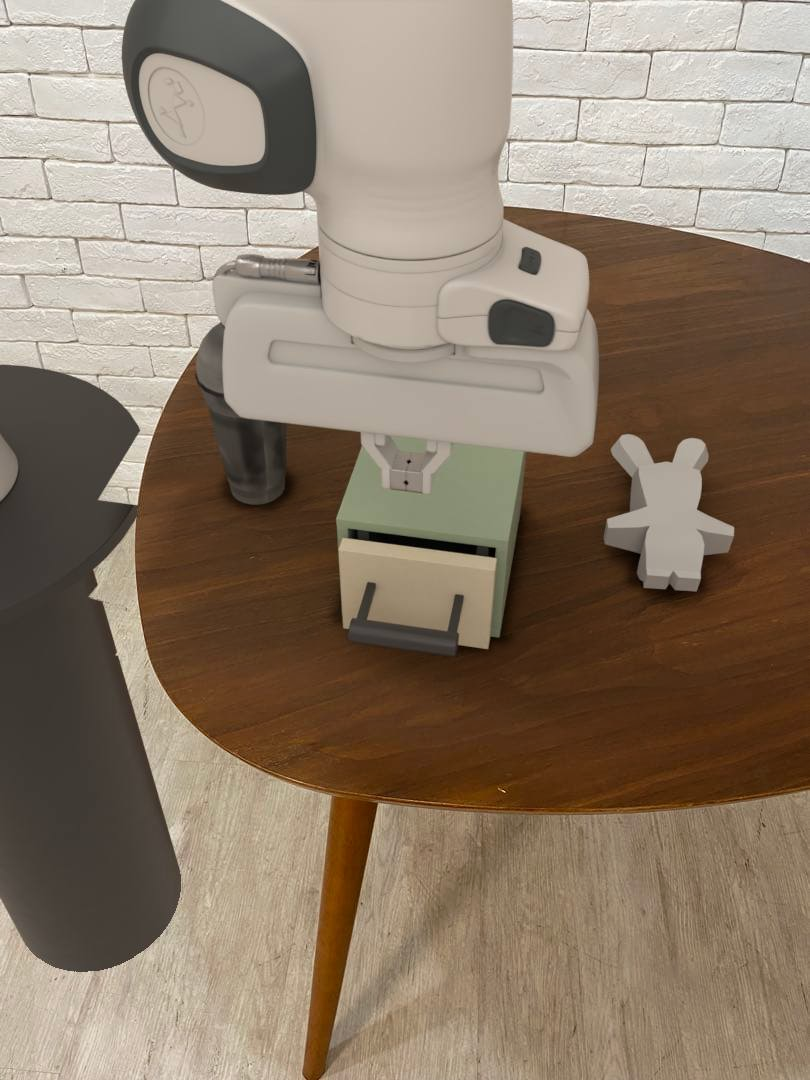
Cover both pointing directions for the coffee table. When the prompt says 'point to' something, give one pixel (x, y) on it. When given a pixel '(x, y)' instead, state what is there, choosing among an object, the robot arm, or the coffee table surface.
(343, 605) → the drawer
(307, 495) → the coffee table surface
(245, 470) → the beverage cup
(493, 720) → the coffee table surface
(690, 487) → the bunny figurine
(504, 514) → the cabinet
